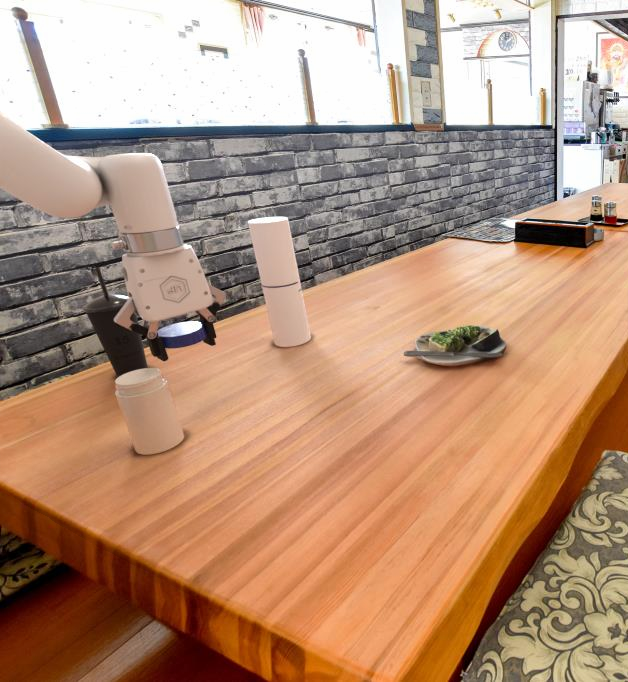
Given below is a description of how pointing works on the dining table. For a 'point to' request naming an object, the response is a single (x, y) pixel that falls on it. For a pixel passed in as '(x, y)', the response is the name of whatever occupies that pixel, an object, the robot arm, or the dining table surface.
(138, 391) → the jar
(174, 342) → the lid
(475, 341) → the salad plate
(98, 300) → the drinking cup
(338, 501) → the dining table surface
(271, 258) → the cylindrical container
